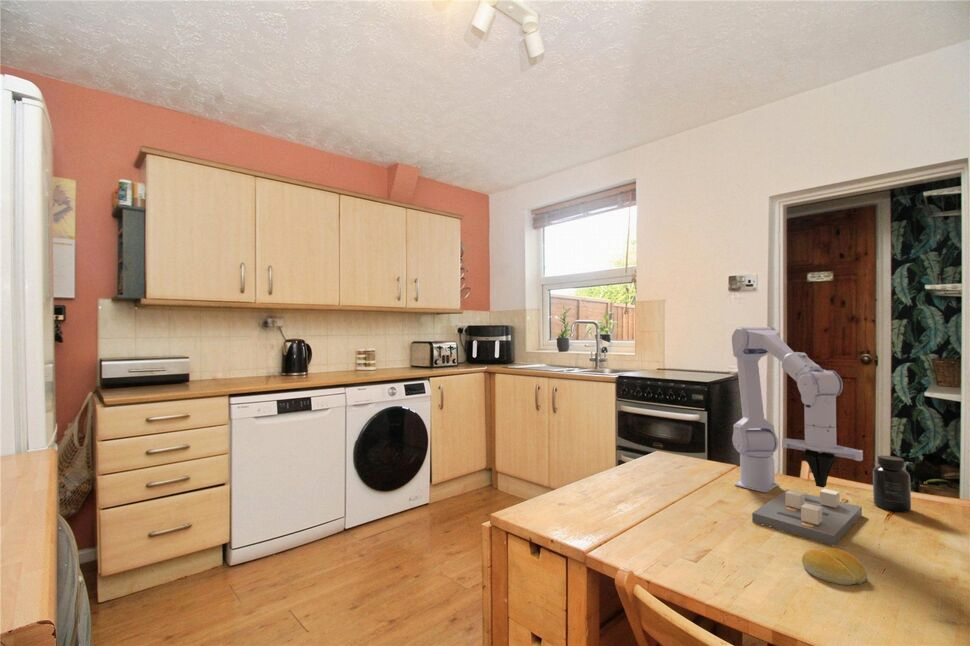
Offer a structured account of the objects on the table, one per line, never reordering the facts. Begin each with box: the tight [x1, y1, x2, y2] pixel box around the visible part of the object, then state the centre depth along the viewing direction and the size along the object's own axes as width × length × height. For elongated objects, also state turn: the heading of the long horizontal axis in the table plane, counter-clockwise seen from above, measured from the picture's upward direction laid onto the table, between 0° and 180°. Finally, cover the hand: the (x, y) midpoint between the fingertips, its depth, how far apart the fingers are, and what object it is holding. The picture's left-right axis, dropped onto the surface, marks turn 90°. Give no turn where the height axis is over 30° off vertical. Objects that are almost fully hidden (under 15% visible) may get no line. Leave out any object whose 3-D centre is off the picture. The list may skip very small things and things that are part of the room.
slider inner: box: [819, 488, 840, 508], centre depth 107 cm, size 3×3×3 cm
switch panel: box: [751, 489, 863, 547], centre depth 104 cm, size 23×15×2 cm, turn 129°
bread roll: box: [801, 547, 868, 586], centre depth 81 cm, size 8×9×4 cm
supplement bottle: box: [872, 455, 912, 513], centre depth 110 cm, size 7×7×12 cm
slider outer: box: [801, 503, 822, 525], centre depth 98 cm, size 3×3×3 cm
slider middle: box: [785, 489, 806, 509], centre depth 106 cm, size 3×3×3 cm
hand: (821, 485), depth 101 cm, fingers closed
